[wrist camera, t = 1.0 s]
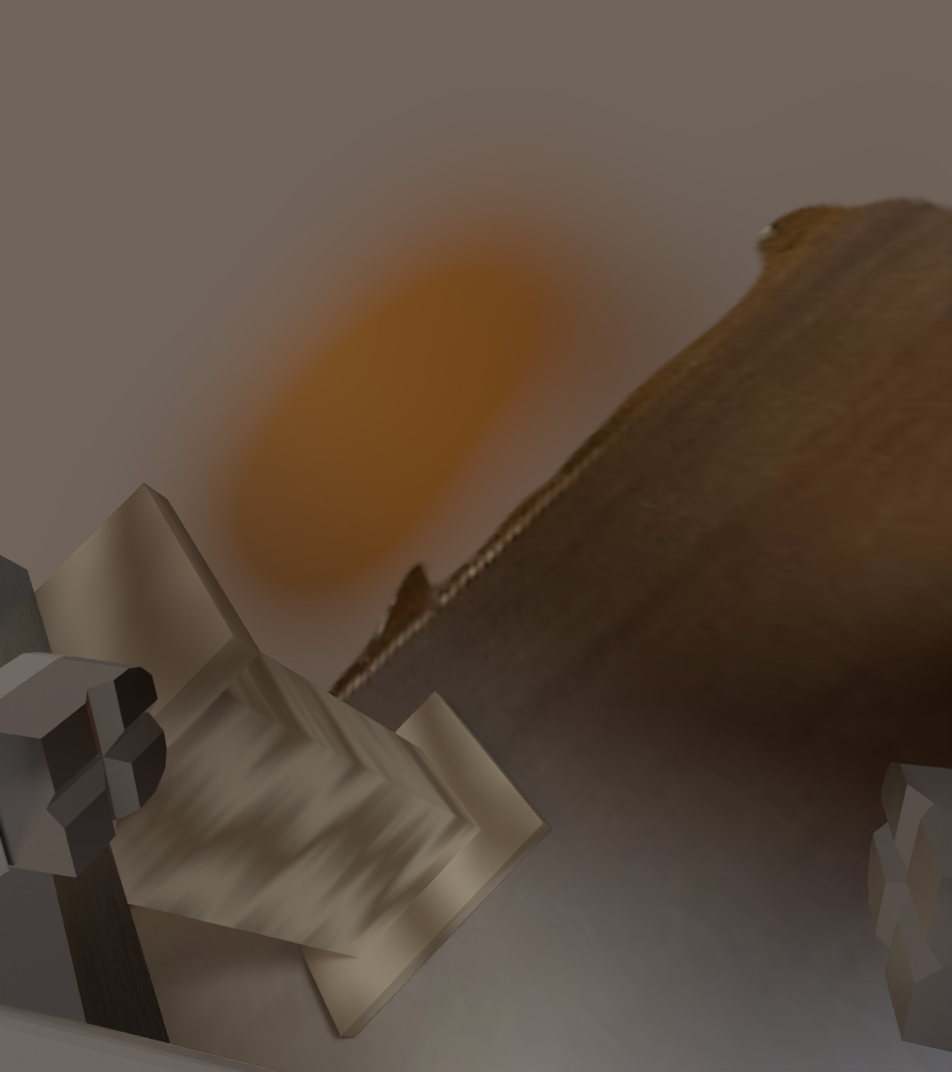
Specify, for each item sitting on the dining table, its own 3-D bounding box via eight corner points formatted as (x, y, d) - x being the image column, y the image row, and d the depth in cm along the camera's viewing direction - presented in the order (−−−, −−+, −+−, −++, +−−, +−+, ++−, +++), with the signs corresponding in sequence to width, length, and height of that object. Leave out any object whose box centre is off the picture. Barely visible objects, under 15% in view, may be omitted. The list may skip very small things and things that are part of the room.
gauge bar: (-13, 609, 37) (-66, 583, 35) (27, 569, 37) (-24, 542, 35) (102, 1129, 20) (14, 1131, 19) (173, 1055, 21) (92, 1049, 19)
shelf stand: (444, 697, 55) (143, 482, 36) (551, 828, 46) (233, 636, 28) (275, 873, 54) (-119, 747, 36) (353, 1037, 46) (-109, 985, 27)
